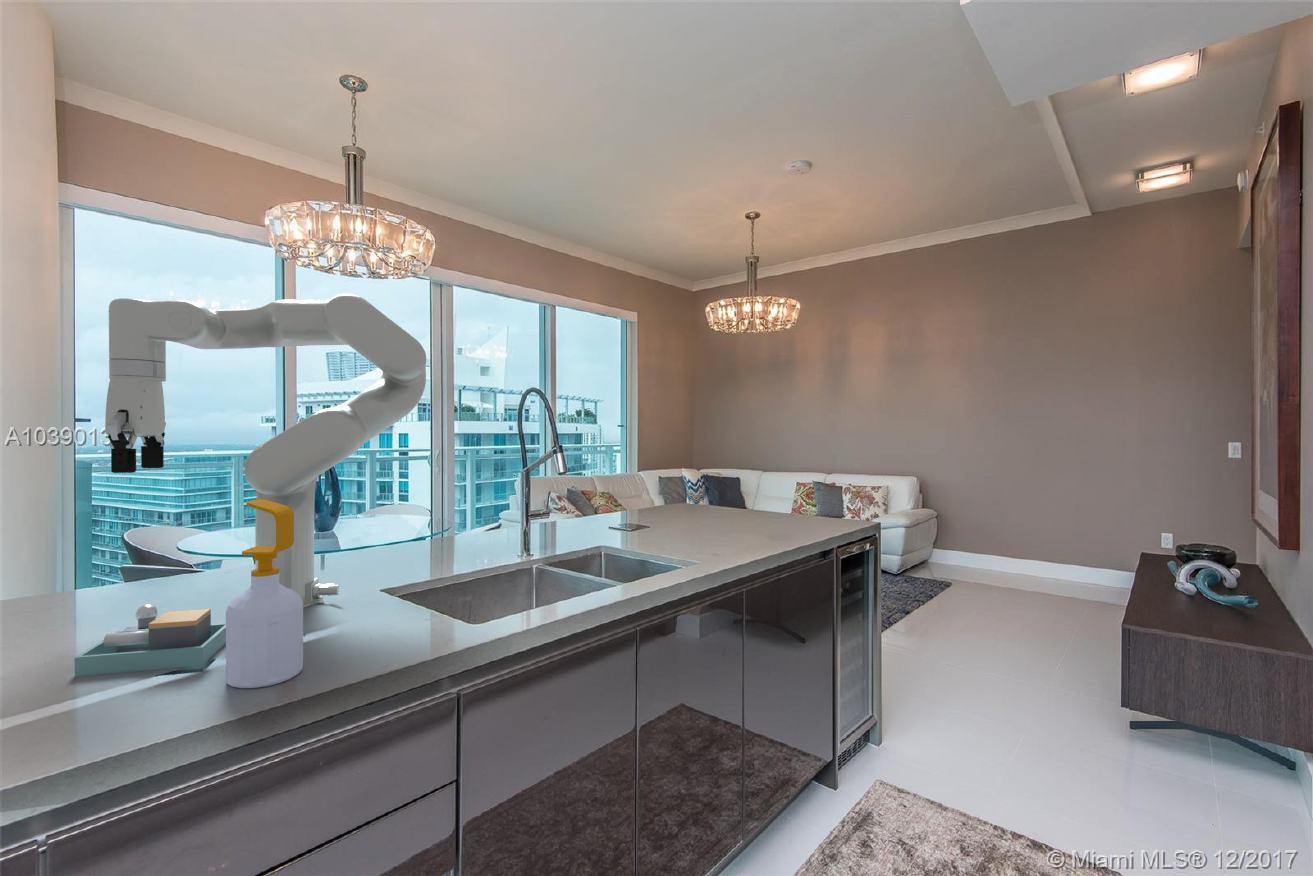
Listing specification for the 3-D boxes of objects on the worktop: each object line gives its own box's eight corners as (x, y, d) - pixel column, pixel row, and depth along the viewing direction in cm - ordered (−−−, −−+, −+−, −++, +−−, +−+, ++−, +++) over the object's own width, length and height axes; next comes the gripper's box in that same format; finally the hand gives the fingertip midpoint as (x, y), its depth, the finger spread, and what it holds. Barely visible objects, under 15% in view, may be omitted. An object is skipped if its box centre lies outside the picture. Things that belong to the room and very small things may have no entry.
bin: (230, 645, 96) (230, 623, 96) (203, 671, 86) (202, 647, 86) (117, 654, 92) (117, 631, 92) (74, 683, 82) (74, 657, 82)
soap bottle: (249, 663, 89) (249, 496, 88) (314, 662, 90) (314, 496, 89) (210, 690, 80) (209, 504, 79) (282, 689, 81) (282, 504, 80)
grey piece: (192, 628, 103) (192, 595, 103) (167, 647, 95) (167, 611, 94) (127, 633, 100) (127, 598, 100) (96, 653, 92) (95, 615, 92)
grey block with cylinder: (210, 649, 93) (210, 608, 93) (195, 663, 88) (195, 620, 87) (117, 657, 89) (117, 615, 89) (96, 672, 84) (95, 627, 84)
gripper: (137, 374, 113) (138, 466, 114) (81, 367, 97) (82, 475, 97) (185, 376, 115) (185, 466, 116) (138, 369, 99) (139, 474, 99)
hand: (138, 470), depth 106 cm, fingers open, 9 cm apart
